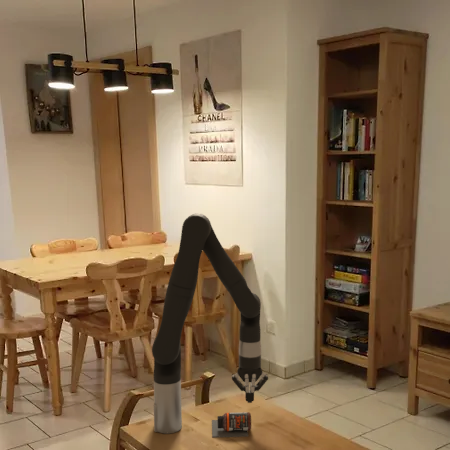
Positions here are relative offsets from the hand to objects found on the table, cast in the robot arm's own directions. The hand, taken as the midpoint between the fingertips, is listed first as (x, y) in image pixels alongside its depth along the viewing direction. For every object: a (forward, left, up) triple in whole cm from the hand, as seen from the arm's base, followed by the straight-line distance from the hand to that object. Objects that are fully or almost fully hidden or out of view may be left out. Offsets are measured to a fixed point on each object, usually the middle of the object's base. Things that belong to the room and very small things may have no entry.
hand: (249, 401), depth 192 cm
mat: (-7, 0, -9) cm, 12 cm away
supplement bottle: (0, -2, -6) cm, 6 cm away
